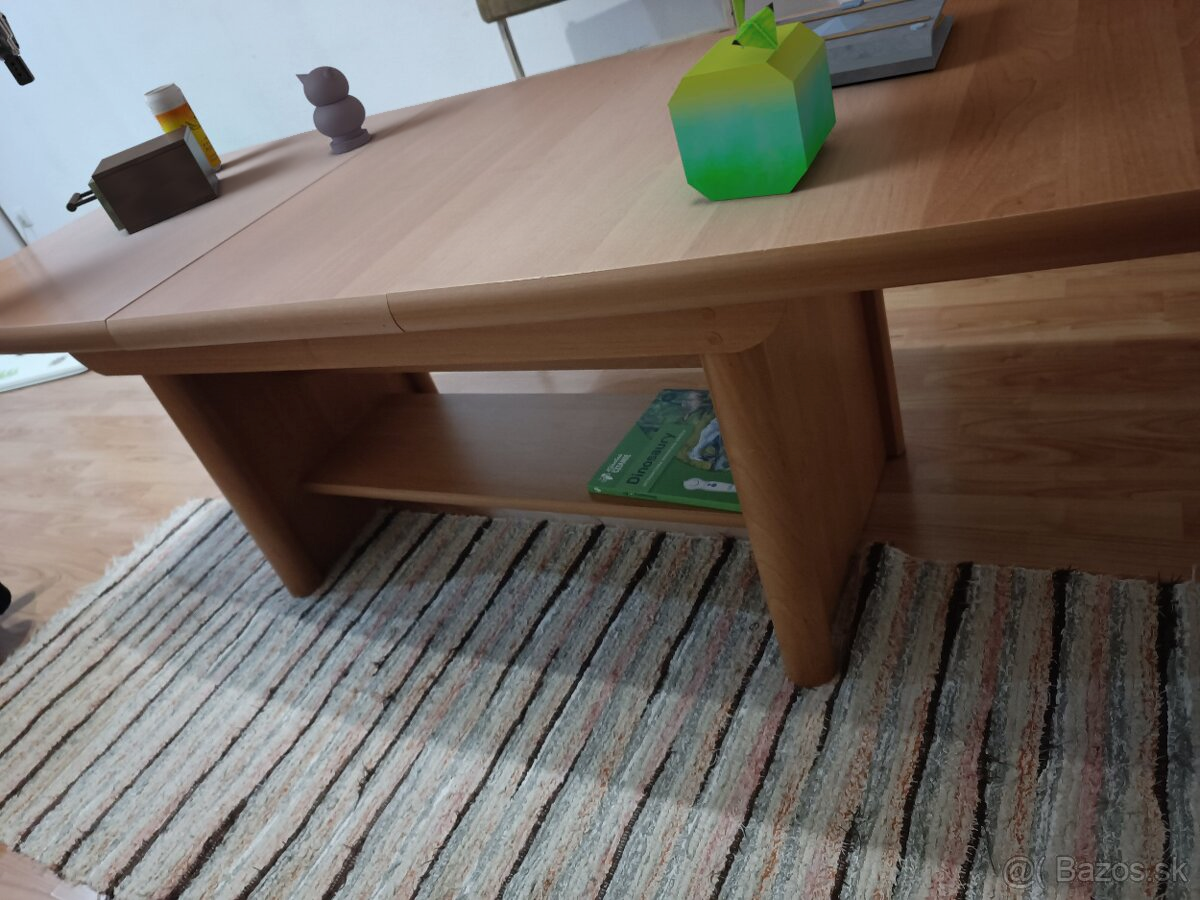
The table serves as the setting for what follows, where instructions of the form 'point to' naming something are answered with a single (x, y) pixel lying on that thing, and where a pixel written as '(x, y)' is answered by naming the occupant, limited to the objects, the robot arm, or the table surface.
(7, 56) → the robot arm
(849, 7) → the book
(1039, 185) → the table surface
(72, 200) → the drawer
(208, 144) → the beer can
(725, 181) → the apple
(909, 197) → the table surface
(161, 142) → the cabinet
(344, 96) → the cat figurine
